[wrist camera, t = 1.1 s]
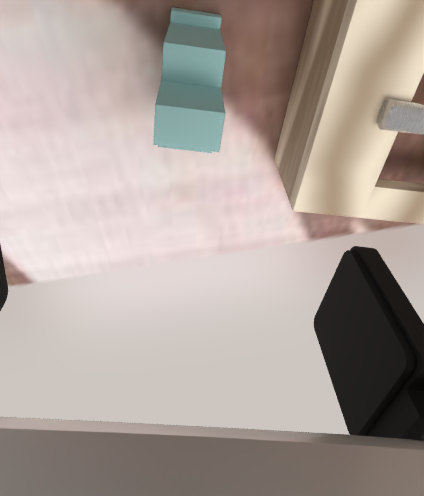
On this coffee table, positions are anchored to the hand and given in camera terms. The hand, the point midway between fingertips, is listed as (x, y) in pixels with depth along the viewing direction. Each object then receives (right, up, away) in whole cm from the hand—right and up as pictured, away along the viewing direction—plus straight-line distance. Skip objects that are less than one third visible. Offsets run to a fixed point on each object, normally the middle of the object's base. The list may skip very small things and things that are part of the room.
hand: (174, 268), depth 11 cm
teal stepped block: (-1, +17, +24) cm, 30 cm away
